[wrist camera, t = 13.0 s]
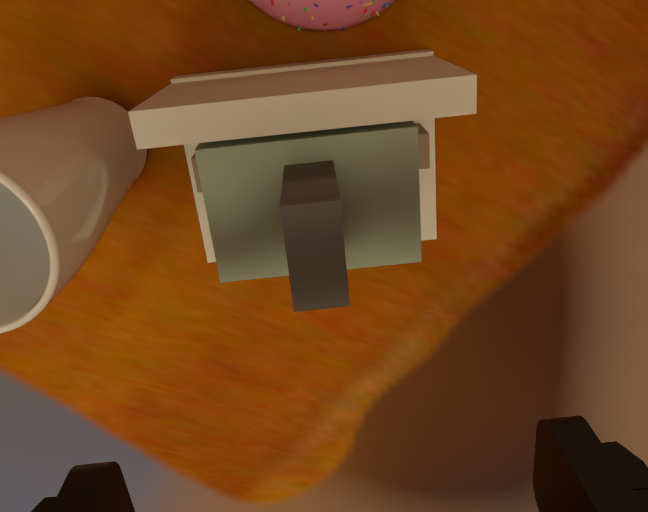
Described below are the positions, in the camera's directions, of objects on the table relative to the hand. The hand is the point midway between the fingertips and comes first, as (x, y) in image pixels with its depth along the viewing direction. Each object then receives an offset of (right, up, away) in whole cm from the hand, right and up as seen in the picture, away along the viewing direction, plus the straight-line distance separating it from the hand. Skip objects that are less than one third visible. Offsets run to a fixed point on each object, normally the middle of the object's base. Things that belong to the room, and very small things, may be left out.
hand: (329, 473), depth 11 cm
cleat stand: (-1, +11, +21) cm, 24 cm away
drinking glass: (-13, +11, +21) cm, 27 cm away
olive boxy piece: (-1, +10, +20) cm, 22 cm away
